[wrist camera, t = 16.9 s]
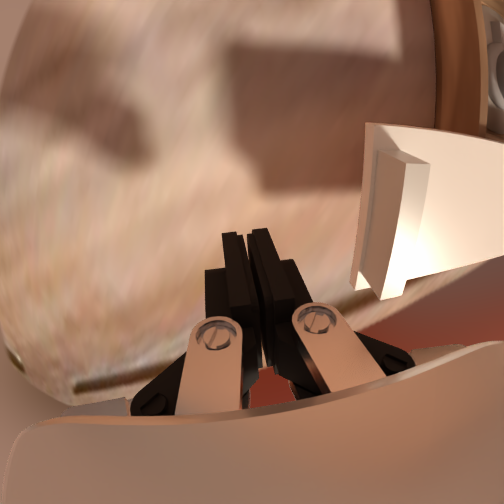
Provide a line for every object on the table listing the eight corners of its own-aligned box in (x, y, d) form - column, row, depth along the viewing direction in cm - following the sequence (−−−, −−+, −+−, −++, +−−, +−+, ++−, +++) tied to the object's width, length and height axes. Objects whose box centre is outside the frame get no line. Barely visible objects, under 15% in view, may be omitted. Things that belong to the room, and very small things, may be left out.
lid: (525, 148, 11) (553, 162, 9) (500, 249, 16) (522, 269, 13) (365, 122, 10) (404, 134, 8) (349, 282, 14) (371, 317, 12)
